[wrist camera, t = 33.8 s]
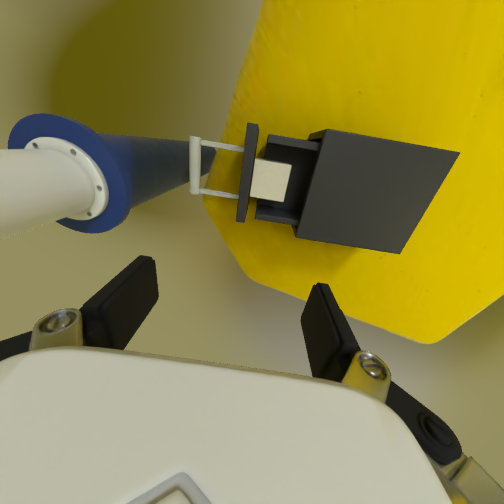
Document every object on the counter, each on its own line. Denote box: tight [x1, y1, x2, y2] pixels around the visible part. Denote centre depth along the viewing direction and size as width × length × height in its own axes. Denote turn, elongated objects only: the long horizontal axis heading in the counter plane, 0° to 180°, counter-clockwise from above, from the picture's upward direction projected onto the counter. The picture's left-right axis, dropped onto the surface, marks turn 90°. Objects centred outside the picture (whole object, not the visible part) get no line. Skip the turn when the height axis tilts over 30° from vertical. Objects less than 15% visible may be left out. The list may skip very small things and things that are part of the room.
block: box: [250, 158, 292, 202], centre depth 26 cm, size 4×4×4 cm
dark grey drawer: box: [190, 123, 321, 226], centre depth 27 cm, size 21×11×6 cm, turn 81°
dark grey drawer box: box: [291, 129, 460, 254], centre depth 27 cm, size 15×13×8 cm
